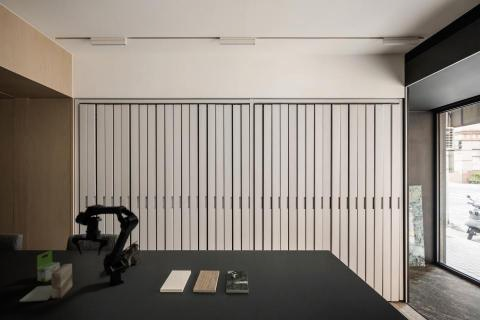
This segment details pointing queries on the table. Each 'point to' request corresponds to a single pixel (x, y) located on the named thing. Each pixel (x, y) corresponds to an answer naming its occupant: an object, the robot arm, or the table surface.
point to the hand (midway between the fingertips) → (90, 255)
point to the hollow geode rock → (130, 255)
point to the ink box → (46, 267)
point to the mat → (38, 294)
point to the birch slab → (61, 281)
